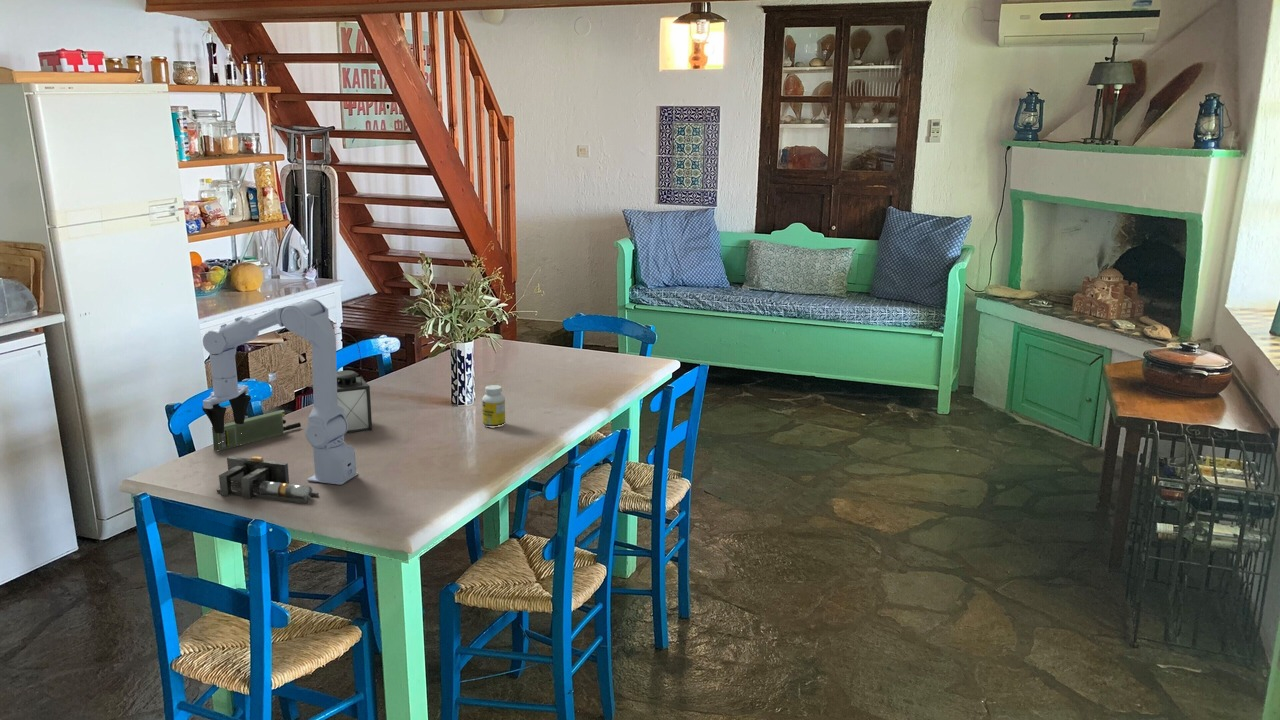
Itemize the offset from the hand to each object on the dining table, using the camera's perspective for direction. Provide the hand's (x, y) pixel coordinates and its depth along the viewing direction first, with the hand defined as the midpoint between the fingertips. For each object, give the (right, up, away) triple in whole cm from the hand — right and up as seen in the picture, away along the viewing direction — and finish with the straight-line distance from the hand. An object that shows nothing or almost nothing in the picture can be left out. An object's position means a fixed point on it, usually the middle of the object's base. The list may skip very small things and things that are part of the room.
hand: (229, 428), depth 237 cm
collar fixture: (+15, -14, -14) cm, 25 cm away
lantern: (+20, -2, +34) cm, 39 cm away
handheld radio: (-2, -5, +23) cm, 24 cm away
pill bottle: (+61, -2, +37) cm, 71 cm away
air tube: (+21, -15, -16) cm, 30 cm away
